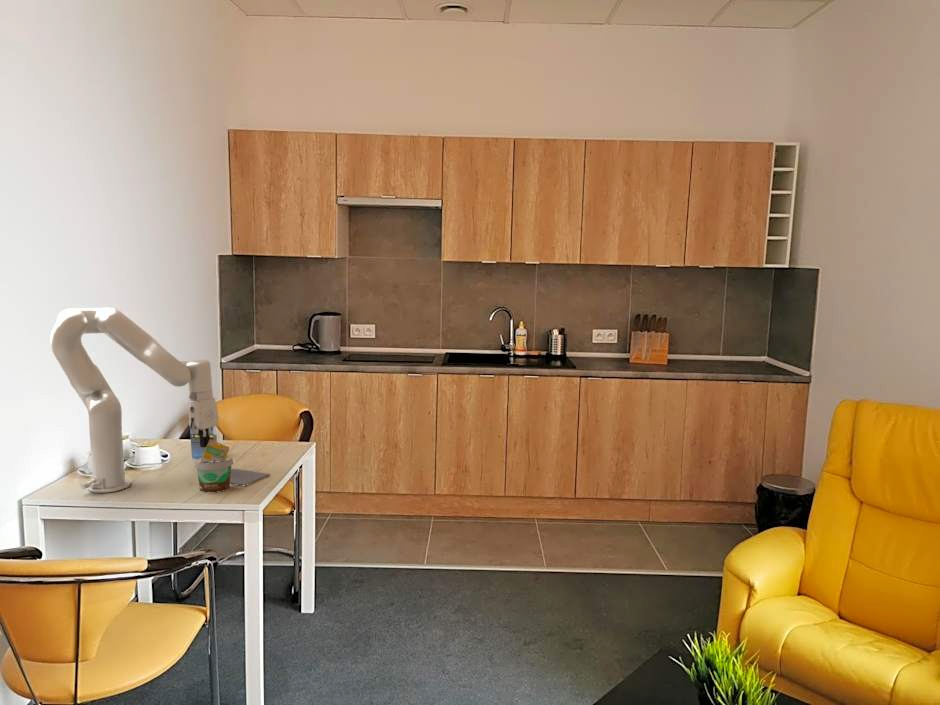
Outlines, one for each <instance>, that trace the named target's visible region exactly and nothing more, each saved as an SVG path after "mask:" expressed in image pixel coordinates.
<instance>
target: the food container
mask: <svg viewBox="0 0 940 705" xmlns="http://www.w3.org/2000/svg"><path fill="white" fill-rule="evenodd" d="M232 465H234V460H233V457H230V458H229V459H225V460H224V461H220V460H212V461H207V462H201V461H198V460H195V461H194V464H193V467H194V469H195V470H196V471H197V472H196V473H197V478H198V479H197V480H198V486H199V491H201V492H202V491H204V492H203V493H207V492H215V493H218V492H217V491H221V492H224V491H226V489H227V490H229V489H230V487H231V484H230V477H231V469H232ZM223 490H224V491H223Z"/></svg>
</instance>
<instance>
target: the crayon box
mask: <svg viewBox="0 0 940 705" xmlns="http://www.w3.org/2000/svg"><path fill="white" fill-rule="evenodd" d="M229 451H230V446H227V445H225V444H222V443H220V442H218V441H217V442H215V441H212V440H209V442H208V444H207V447H206V449H205V452H204V454H203V456H202V459H200V462H207V461H212V460H220V461H224V460H227V459H226V458H227V456H228V454H229Z"/></svg>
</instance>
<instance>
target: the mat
mask: <svg viewBox="0 0 940 705" xmlns="http://www.w3.org/2000/svg"><path fill="white" fill-rule="evenodd" d="M269 475H270V476H271V474H270V473H265V472H259V471H251V470H245V469H238V468H231V477H230V485H232V484H238V485H237V486H239V485H245V486H244V487H247V486H248V485H247V484H250V483H252V482H254V483H256V482H258V481H257V480H259V481H260V479H261V480H263V479H265V478H264V477H266V478H267V476H268V477H269ZM262 478H263V479H262ZM255 481H256V482H255ZM252 484H253V483H252ZM246 485H247V486H246ZM250 485H251V484H250Z"/></svg>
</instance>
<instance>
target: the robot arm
mask: <svg viewBox="0 0 940 705" xmlns="http://www.w3.org/2000/svg"><path fill="white" fill-rule="evenodd" d="M50 333H51V334H50V349H51V351H52V353H53V355H54V357H55V359H56V360H57V362H58V364H59V365H60V367H61V369H62V370H63V371H62V372H64V373H65V376H66V377H67V379H68V382H69V384H70V386H71V387H72V388H73V389H74V390H75V392H76V394H77V395H78V397H79V398H80V399H81V402H82V403H83V405H84V406H85V407H86V410H87V412H88V422H89V423H88V425H89V430H88V431H89V441H90V442H89V444H90V456H91V468H92V469H91V471H92V476H90V477H89V480H88V481H85V482H82V483H80V485H79V486H80V489H82V490H85V489H88V491H89V492H91V493H97V494H98V493H99V494H101V493H103V494H104V493H107V494H108V493H115V492H117V491H118V490H119V491H122V490H125V489H127V488H128V487H130V486H131V480H130V479H128V478H126V474H125V459H124V458H125V457H124V440H123V428H122V427H123V426H122V425H123V424H122V420H123V419H122V416H123V414H122V411H123V410H122V406H121V402H120V400H119V398H118V397H117V396H116V394H115V393H114V391H113V390H112V388H111V386H110V384H109V383H108V381H107V380H106V378H105V377H104V375H103V373H102V371H101V370H100V368H99V367H98V366H97V365H96V364H95V363H94V362H93V360H92V359H91V357H90V356H89V354H88V352H87V351H86V349H85V347H84V346H83V343H82V336H83V335H85V334H104V335H106V336H107V337H108V338H109V339H111V340H112V341H113V342H115V343H116V344H118V345H119V347H121V348H122V349H124V350H125V351H127V352H128V353H129V354H130V355H132V357H134V358H135V359H137V361H140V362H141V363H143V364H144V365H145V366H147V367H148V368H150V369H151V370H152V371H154V372H155V373H156V374H158V375H159V376H160V377H161V378H162V379H164V380H165V381H166V382H168V383H169V384H170V385H172V386H174V387H178V388H179V387H185V386H186V385H187V384H188V390H189V396H188V397H189V402H188V403H189V404H188V423H189V424H188V425H189V429H190V430H191V429H192V433H193V434H198V436H199V437H200V447H205V448H206V447H207V444H208V442H209V440H210V435H211V430H212V429H213V430H214V428H216V426H217V425H218V424H219V422H220V420H219V412H218V410H219V409H218V406H217V401H216V398H215V397H214V395H213V394H214V392H213V382H212V379H213V378H212V368H211V362H210V361H209V360H208V359H194V360H190V361H189V360H188V361H183V360H179V359H178V358H176V357H175V356H174V355H172V354H171V353H170V352H169V351H167V350H166V349H165V348H164V347H163V346H162V345H161V344H160V343H159V342H158V341H157V340H156V338H154V337H152V336H151V335H150V334H149V333H147V331H145V330H144V329H142V327H140V326H139V325H138V324H137V323H136V322H134V321H133V320H132V319H130V317H128V316H126V315H125V314H124V313H123V312H122V311H120V310H118V309H117V308H114V307H100V308H99V307H94V308H93V307H92V308H91V307H86V308H85V307H82V308H81V307H80V308H78V307H72V308H67V309H64V310H62V311H61V312H60V313H59V314H58V315H57V318H56V322H55V324H54V326H53V328H52V330H51V332H50ZM124 488H125V489H124ZM121 489H122V490H121ZM119 491H118V492H119Z"/></svg>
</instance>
